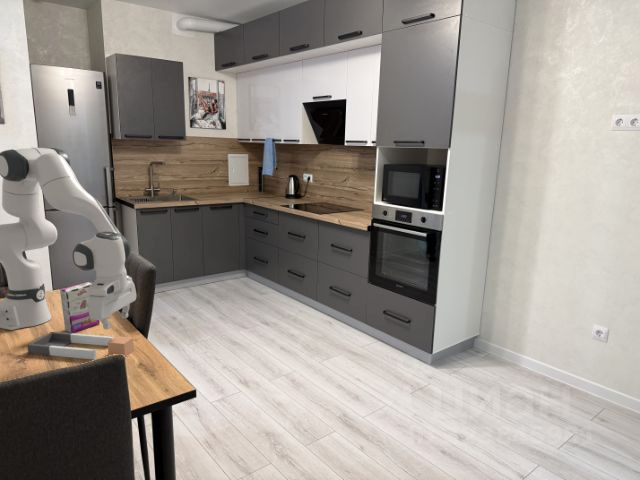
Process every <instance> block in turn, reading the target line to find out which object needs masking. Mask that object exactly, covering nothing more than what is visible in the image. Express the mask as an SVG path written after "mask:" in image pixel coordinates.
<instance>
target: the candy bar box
mask: <svg viewBox="0 0 640 480" xmlns="http://www.w3.org/2000/svg"><path fill="white" fill-rule="evenodd" d="M92 283H93V282H90V281H87V282H84V283H80V284H76V285H71V286H68V287H65V288H60V289H59V293H60V301H61V302H60V303H61V308H62V316H63V322H64V323H63V324H64V331H65V332H66V333H74V334H76V333H77V332H78V333H79V332H81V331H83V330H87V329H89V328H92V327H94V326H95V327H96V326H97V325H100V324H101V321H100V320H92V319H91V318H90V316H89V309H88V299H89V296H90V295H87V288H88V287H89V286H90V285H91V284H92Z"/></svg>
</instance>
